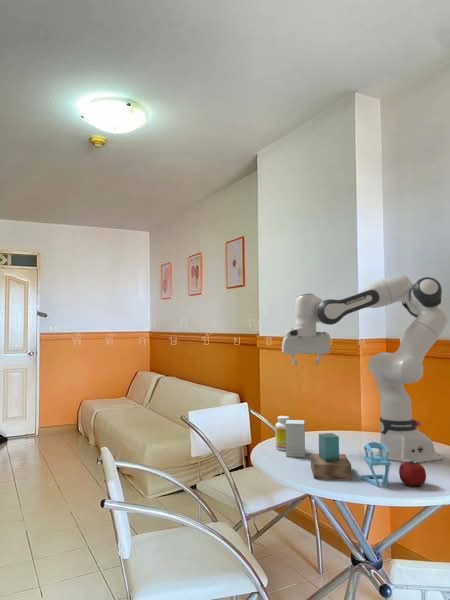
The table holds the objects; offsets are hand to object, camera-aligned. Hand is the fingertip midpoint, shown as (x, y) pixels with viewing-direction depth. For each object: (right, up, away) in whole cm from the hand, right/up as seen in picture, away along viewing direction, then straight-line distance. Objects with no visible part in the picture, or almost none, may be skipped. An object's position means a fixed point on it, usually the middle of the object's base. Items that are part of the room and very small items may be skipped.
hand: (306, 364), depth 181 cm
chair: (+14, -31, -44) cm, 56 cm away
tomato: (+24, -31, -47) cm, 61 cm away
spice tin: (+1, -27, -35) cm, 44 cm away
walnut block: (+1, -32, -35) cm, 48 cm away
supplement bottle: (-10, -34, -6) cm, 36 cm away
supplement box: (-7, -33, -14) cm, 37 cm away
